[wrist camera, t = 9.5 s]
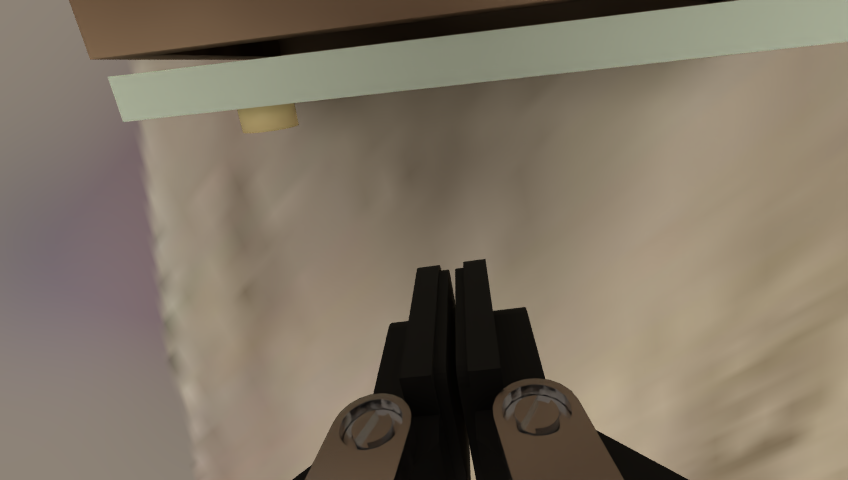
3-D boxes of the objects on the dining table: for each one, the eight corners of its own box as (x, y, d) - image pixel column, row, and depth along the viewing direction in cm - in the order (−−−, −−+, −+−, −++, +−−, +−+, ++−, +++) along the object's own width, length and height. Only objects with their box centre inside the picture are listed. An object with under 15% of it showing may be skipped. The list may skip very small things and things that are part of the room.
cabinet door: (265, 66, 22) (106, 73, 12) (726, 11, 20) (1009, -38, 10) (276, 113, 23) (135, 157, 13) (719, 65, 21) (974, 71, 11)
